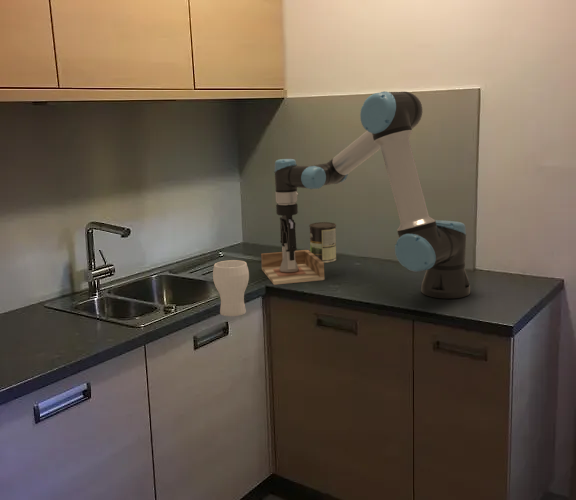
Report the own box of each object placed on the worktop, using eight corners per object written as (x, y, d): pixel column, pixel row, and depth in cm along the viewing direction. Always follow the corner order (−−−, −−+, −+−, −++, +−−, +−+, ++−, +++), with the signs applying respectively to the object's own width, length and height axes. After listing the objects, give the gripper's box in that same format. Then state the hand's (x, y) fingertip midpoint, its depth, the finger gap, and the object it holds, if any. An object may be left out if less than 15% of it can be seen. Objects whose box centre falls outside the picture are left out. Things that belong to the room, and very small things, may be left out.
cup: (228, 305, 205) (225, 258, 202) (257, 309, 200) (255, 261, 197) (208, 315, 196) (204, 266, 193) (237, 320, 191) (235, 269, 188)
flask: (298, 273, 235) (297, 245, 233) (278, 273, 235) (277, 245, 233) (300, 268, 242) (299, 241, 240) (280, 268, 242) (279, 241, 240)
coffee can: (309, 262, 256) (308, 227, 253) (311, 256, 266) (310, 222, 263) (335, 262, 254) (334, 226, 251) (337, 256, 264) (336, 222, 261)
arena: (324, 279, 231) (324, 262, 229) (273, 284, 227) (273, 267, 225) (308, 265, 252) (307, 249, 250) (261, 269, 248) (261, 253, 246)
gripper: (304, 206, 224) (306, 271, 229) (290, 198, 244) (292, 259, 249) (282, 208, 223) (285, 273, 228) (270, 200, 242) (273, 261, 247)
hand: (289, 266), depth 238 cm, fingers open, 7 cm apart
